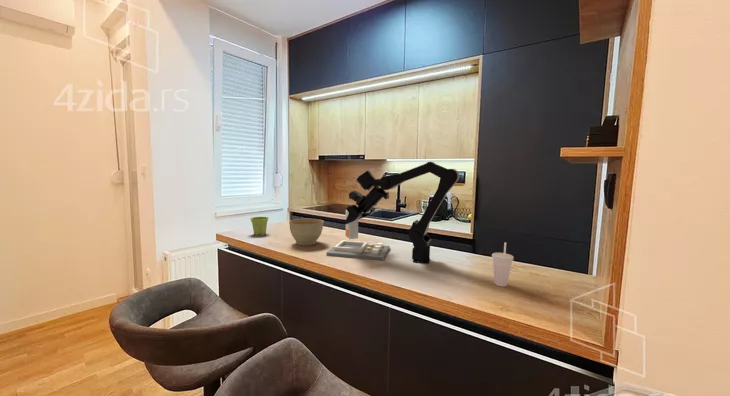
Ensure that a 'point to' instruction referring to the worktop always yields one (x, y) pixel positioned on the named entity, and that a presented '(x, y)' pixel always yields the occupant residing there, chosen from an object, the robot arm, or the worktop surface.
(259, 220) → the plant pot
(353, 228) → the skincare box
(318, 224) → the planter bowl
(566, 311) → the worktop surface
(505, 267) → the smoothie
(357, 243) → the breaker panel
